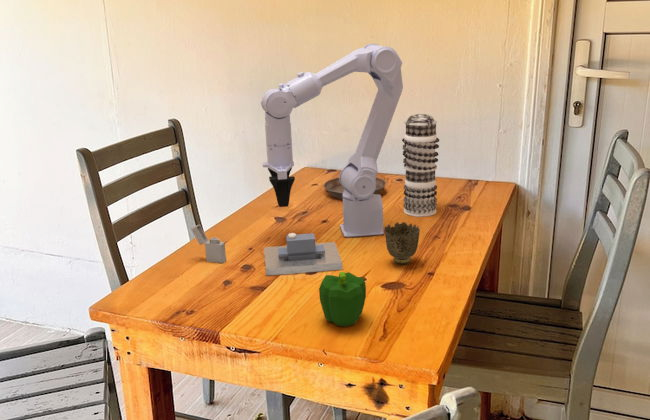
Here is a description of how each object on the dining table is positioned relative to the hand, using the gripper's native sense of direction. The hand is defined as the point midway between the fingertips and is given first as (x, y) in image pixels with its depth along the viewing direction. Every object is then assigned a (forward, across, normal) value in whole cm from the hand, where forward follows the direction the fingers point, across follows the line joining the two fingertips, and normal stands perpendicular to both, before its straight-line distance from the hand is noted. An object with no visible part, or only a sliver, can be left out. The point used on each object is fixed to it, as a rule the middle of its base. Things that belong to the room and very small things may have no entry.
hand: (282, 201), depth 156 cm
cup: (+10, +18, +24) cm, 32 cm away
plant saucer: (+10, -34, +22) cm, 42 cm away
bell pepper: (+10, +41, +8) cm, 43 cm away
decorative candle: (+10, -14, +36) cm, 40 cm away
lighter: (+10, +8, -17) cm, 21 cm away
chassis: (+10, +13, +3) cm, 17 cm away
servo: (+10, +13, +3) cm, 16 cm away
